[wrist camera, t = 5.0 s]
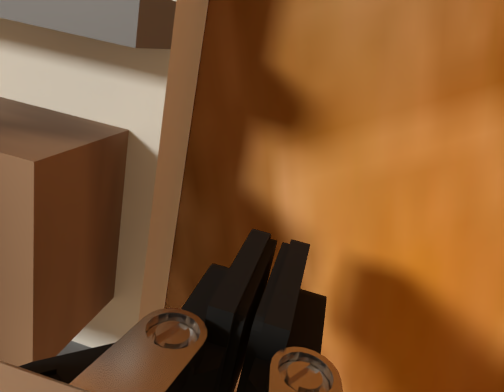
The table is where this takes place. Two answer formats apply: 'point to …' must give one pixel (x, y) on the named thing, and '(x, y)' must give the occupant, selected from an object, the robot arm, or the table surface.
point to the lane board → (117, 118)
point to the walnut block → (56, 226)
